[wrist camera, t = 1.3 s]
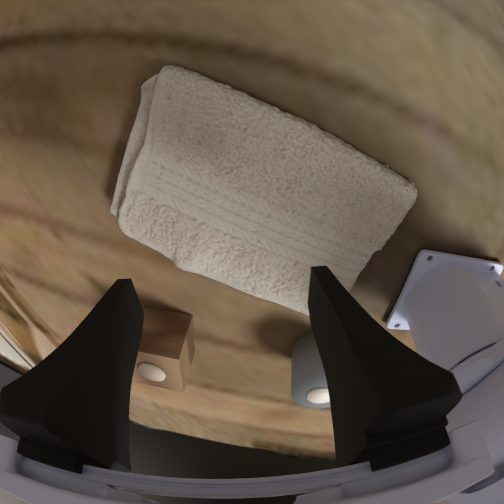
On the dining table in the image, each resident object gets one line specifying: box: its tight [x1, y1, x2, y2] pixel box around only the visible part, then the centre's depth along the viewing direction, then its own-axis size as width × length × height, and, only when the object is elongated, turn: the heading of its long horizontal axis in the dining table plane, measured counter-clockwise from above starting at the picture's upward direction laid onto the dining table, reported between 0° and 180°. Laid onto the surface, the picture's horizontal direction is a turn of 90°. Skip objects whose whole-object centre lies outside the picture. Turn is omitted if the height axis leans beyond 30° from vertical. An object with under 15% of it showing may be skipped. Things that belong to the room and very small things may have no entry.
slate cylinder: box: [291, 332, 331, 408], centre depth 25 cm, size 5×5×5 cm
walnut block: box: [132, 306, 195, 392], centre depth 25 cm, size 5×5×5 cm
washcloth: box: [110, 65, 417, 316], centre depth 19 cm, size 12×18×3 cm, turn 67°
